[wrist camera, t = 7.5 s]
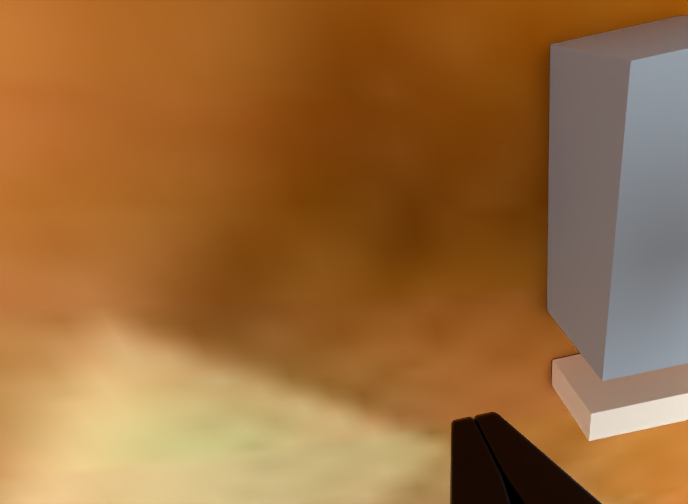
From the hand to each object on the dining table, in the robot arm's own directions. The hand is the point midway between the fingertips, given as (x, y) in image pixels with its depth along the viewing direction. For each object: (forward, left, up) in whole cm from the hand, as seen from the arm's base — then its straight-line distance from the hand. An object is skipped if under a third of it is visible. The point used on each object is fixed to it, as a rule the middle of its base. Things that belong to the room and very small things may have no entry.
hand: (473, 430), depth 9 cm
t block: (0, -11, -9) cm, 14 cm away
